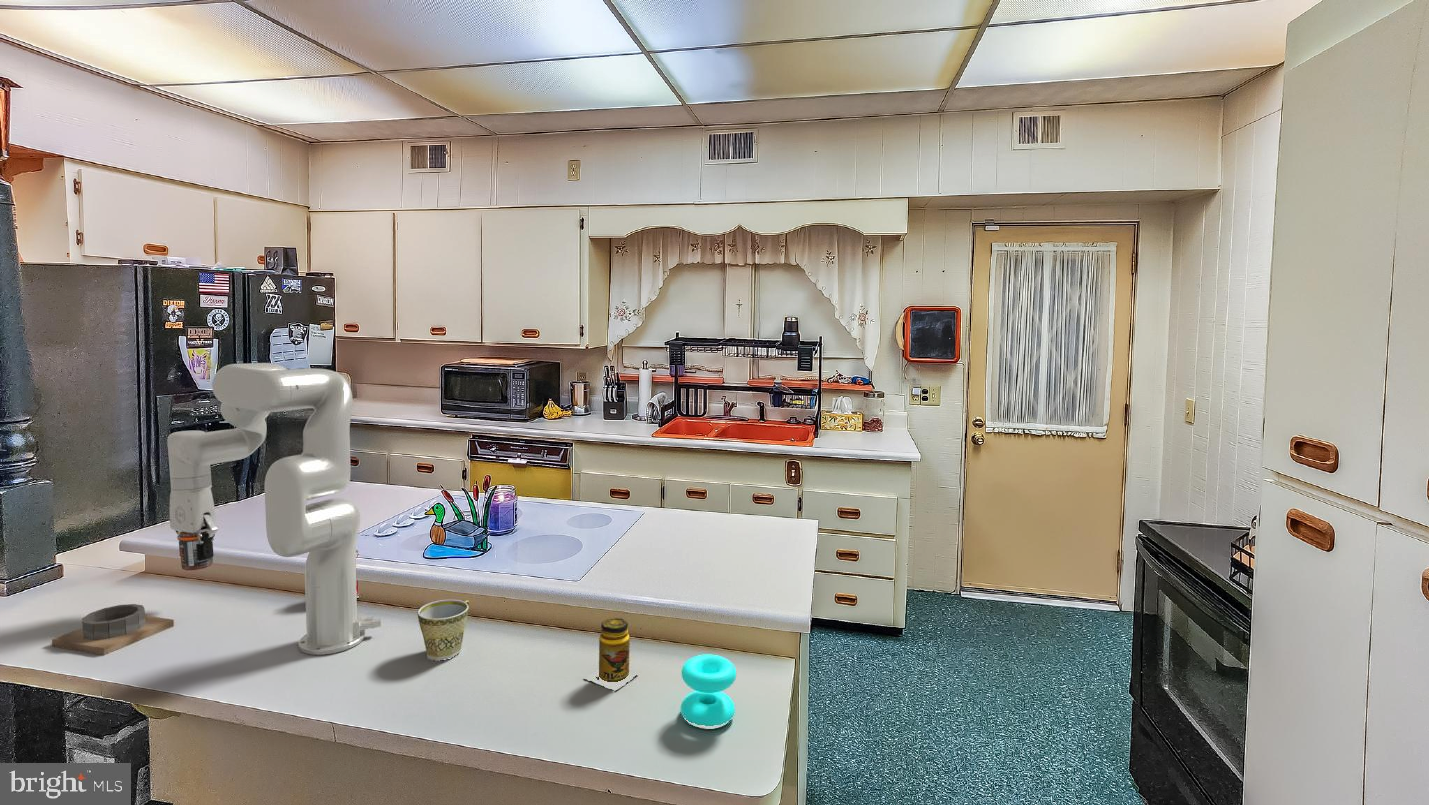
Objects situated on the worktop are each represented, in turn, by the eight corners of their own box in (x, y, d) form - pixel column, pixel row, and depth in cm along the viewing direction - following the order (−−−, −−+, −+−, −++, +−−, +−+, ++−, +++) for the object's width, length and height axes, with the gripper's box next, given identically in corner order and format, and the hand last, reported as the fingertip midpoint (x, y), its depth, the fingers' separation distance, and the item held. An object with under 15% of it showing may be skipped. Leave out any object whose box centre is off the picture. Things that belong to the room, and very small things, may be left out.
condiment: (616, 692, 126) (617, 633, 125) (582, 679, 130) (583, 622, 129) (638, 676, 132) (639, 619, 131) (605, 664, 136) (606, 609, 135)
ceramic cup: (445, 669, 132) (445, 622, 131) (407, 660, 135) (406, 614, 134) (487, 642, 144) (487, 598, 143) (451, 633, 148) (450, 591, 146)
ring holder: (125, 618, 150) (124, 597, 149) (173, 626, 147) (172, 604, 146) (52, 646, 136) (50, 623, 136) (104, 655, 133) (102, 632, 133)
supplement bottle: (180, 567, 155) (176, 520, 154) (211, 561, 160) (208, 516, 159) (183, 573, 151) (179, 525, 150) (214, 567, 155) (211, 521, 154)
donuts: (670, 664, 118) (707, 646, 125) (668, 716, 119) (705, 695, 126) (711, 685, 111) (747, 665, 118) (709, 740, 112) (745, 716, 119)
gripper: (151, 483, 153) (157, 557, 155) (196, 489, 147) (201, 566, 148) (186, 477, 160) (192, 548, 162) (231, 483, 154) (236, 557, 155)
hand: (196, 556), depth 155 cm, fingers closed on supplement bottle, 6 cm apart
